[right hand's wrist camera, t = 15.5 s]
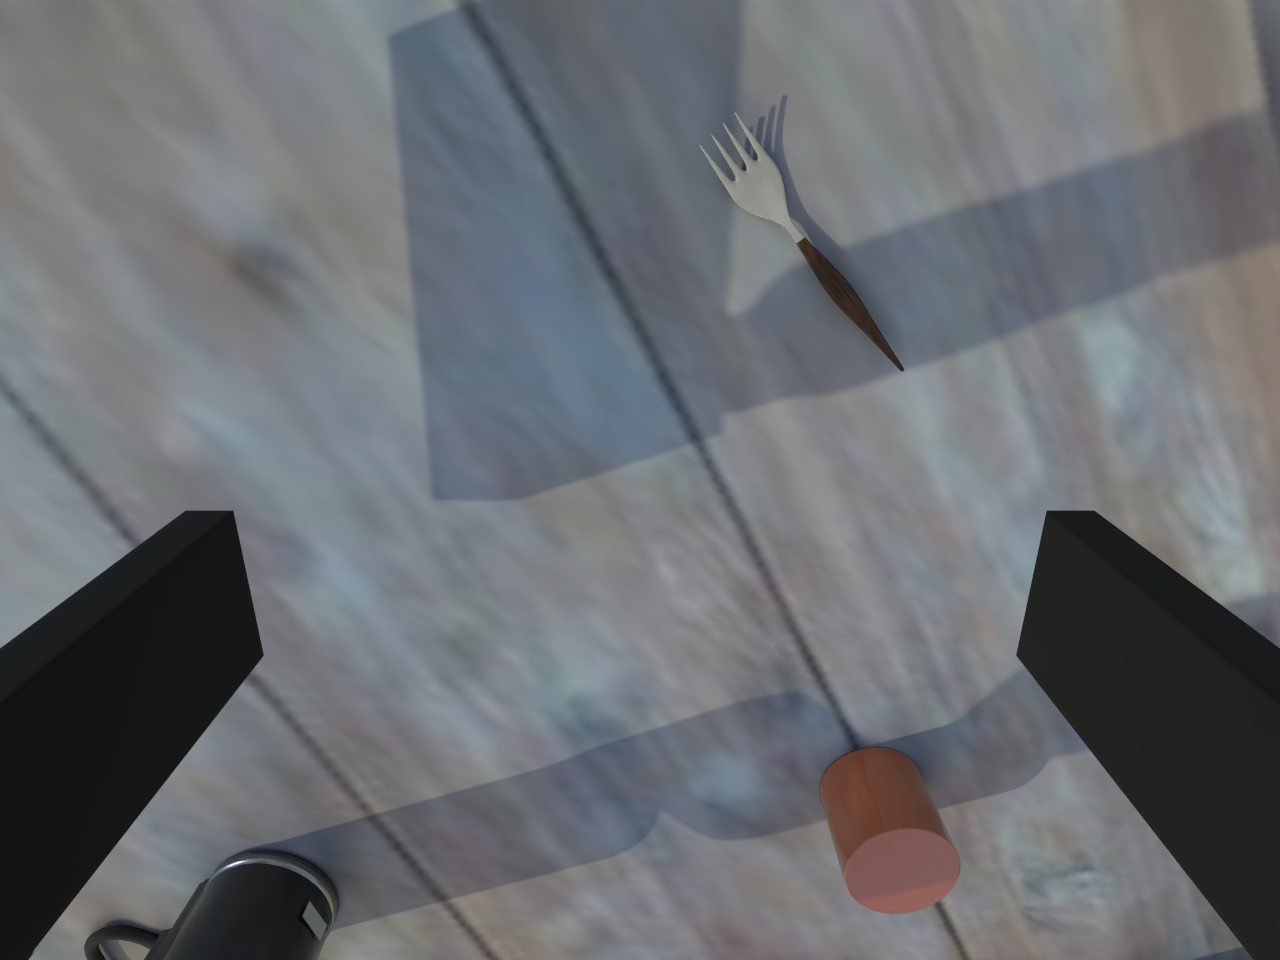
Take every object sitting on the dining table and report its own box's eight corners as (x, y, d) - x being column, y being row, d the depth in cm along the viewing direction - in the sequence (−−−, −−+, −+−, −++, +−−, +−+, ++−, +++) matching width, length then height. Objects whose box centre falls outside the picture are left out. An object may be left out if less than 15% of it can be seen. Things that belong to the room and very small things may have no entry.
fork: (880, 384, 43) (891, 393, 41) (693, 150, 38) (696, 148, 37) (919, 353, 42) (932, 361, 40) (734, 111, 38) (739, 108, 36)
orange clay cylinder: (865, 730, 52) (898, 810, 45) (942, 777, 53) (985, 861, 47) (798, 797, 54) (820, 883, 47) (874, 841, 55) (906, 930, 49)
